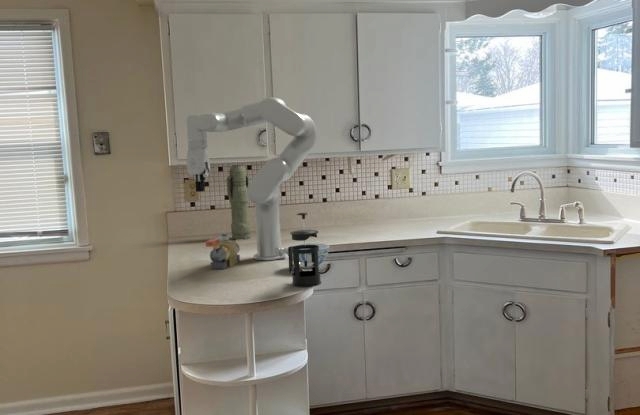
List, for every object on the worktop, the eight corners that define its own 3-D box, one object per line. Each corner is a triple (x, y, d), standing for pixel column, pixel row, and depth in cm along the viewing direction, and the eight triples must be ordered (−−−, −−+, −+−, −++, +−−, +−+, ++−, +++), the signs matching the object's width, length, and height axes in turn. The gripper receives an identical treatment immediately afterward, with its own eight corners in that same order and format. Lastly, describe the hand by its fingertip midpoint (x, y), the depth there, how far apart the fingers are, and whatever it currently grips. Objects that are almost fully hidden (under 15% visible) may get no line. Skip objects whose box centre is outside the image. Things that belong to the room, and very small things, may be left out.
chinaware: (294, 274, 223) (293, 252, 222) (284, 266, 237) (283, 245, 236) (335, 269, 227) (334, 248, 226) (323, 262, 241) (322, 242, 240)
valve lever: (222, 239, 245) (221, 233, 245) (230, 239, 245) (230, 233, 244) (204, 246, 231) (204, 240, 231) (214, 246, 230) (213, 240, 230)
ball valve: (242, 260, 251) (240, 238, 250) (225, 269, 236) (223, 245, 235) (226, 260, 253) (225, 238, 252) (208, 269, 238) (207, 245, 237)
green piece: (225, 239, 307) (221, 166, 304) (244, 235, 316) (239, 164, 312) (238, 240, 302) (233, 166, 298) (256, 237, 311) (252, 164, 307)
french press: (328, 282, 208) (325, 211, 205) (310, 288, 200) (307, 215, 198) (300, 278, 215) (297, 210, 212) (282, 284, 207) (278, 213, 205)
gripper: (179, 146, 259) (181, 191, 261) (200, 145, 249) (203, 192, 251) (194, 145, 265) (197, 190, 267) (216, 144, 254) (219, 191, 256)
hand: (200, 191), depth 259 cm, fingers closed
